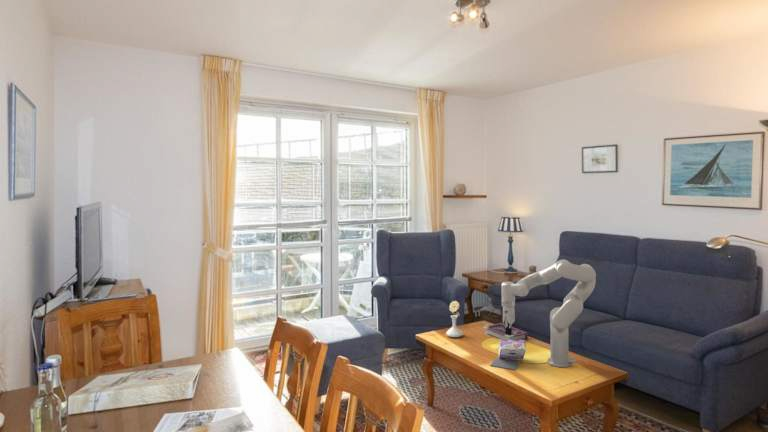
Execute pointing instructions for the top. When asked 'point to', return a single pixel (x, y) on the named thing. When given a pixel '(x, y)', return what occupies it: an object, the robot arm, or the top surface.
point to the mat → (505, 363)
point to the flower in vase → (454, 321)
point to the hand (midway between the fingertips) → (508, 334)
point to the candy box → (511, 349)
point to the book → (499, 332)
